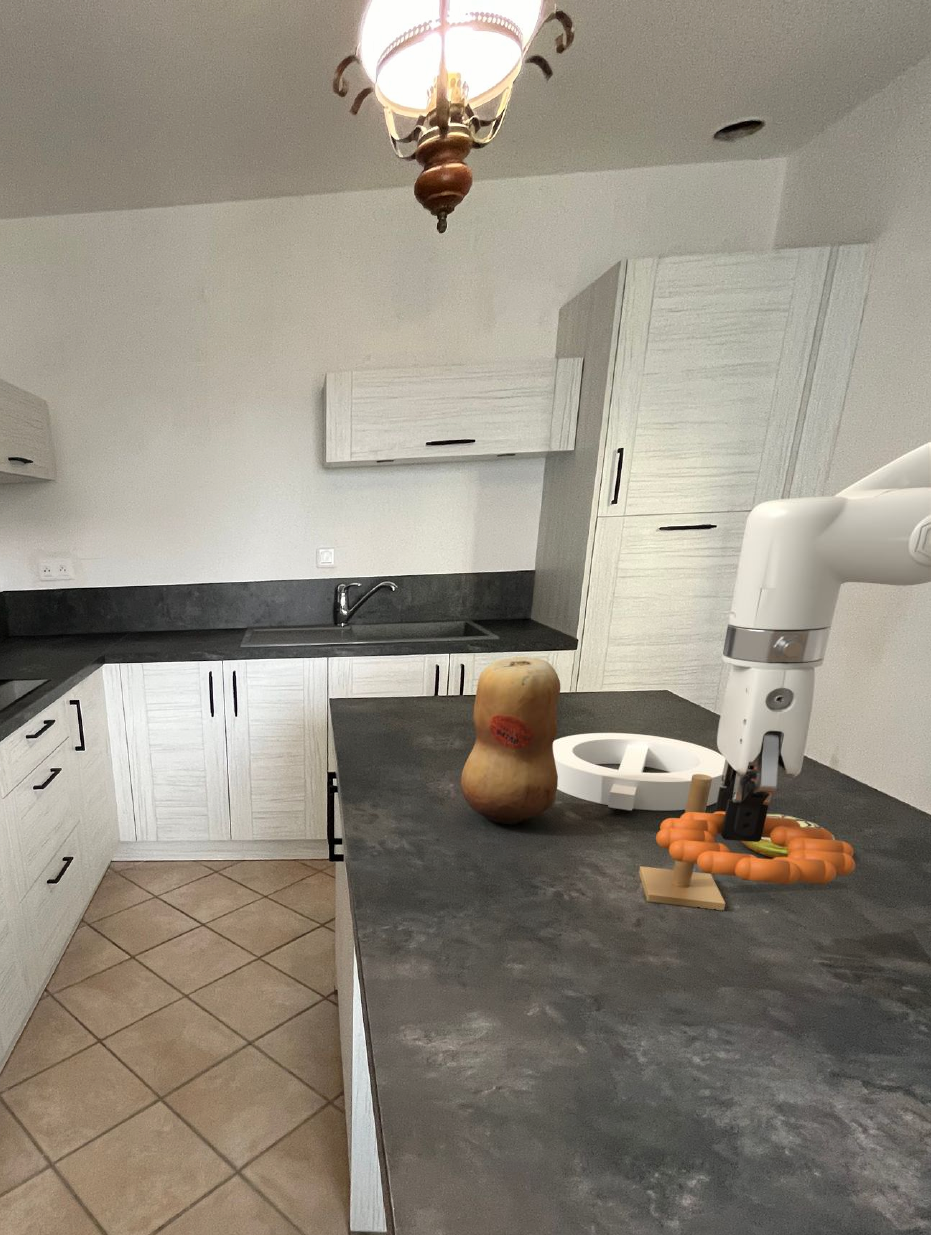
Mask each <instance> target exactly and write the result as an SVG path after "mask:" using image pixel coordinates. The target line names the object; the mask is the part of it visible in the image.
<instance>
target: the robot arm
mask: <svg viewBox="0 0 931 1235" xmlns="http://www.w3.org/2000/svg"><path fill="white" fill-rule="evenodd" d="M846 583H864V584H876V585H877V584H879V585H887V586H890V585H891V586H897V587H899V586H900V587H901V586H903V587H904V586H916V585H923V584H927V583H931V441H929V442H926V443H925V444H923V445H921V446H919V447H917V448H915V449H913V450H910V451H909V452H907V453H905V454H902V455H901V456H900V457H898V458H896V459H894V460H892V461H890V462H889V463H887V464H886V465H884V466H882V467H880V468H878V469H877V470H875V471H873V472H871V473H870V474H868V475H867V476H865V477H863V478H862V479H860V480H859V481H856V482H855V483H853V484H851V485H849V486H848V487H846V488H844V489H843V490H841V491H839V492H838V493H836V494H835V495H833V496H806V497H792V498H791V497H790V498H779V499H772V500H766V501H763V502H760V503H758V504H757V505H756V506H755V507H754V508H753V509H752V510H751V511H750V512H749V514H748V516H747V519H746V523H745V527H744V533H743V538H742V544H741V549H740V554H739V560H738V567H737V573H736V578H735V583H734V588H733V595H732V600H731V606H730V613H729V616H728V624H727V628H726V633H725V634H726V635H725V637H724V638H725V639H724V645H723V649H722V655H721V661H722V662H723V663H725V664H730V665H731V667H730V671H729V673H728V679H727V682H726V683H727V684H726V688H725V692H724V697H723V700H722V706H721V710H720V711H721V712H720V717H719V720H718V728H717V735H716V737H717V738H716V745H717V746H716V747H717V749H718V751H719V752H720V754H721V755H722V756H724V758H725V764H724V769H723V773H722V778H721V786H725V787H726V788H725V787H720V788H719V794H718V799H717V802H716V803H715V808H714V809H715V810H714V813H715V812H718V811H722V812H725V817H724V822H723V827H722V832H721V834H720V835H721V837H722V839H723V840H727V841H737V842H741V841H749V842H759V841H760V840H761V838H762V833H763V828H764V824H765V819H766V815H767V814H768V809H769V806H770V803H771V799H772V794H774V793H776V791H777V788H778V773H779V771H778V770H780V771H781V772H782V773H783V774H784V775H785V776H786V777H788V778H796V777H797V776H798V775H800V774H801V772H802V768H803V764H804V757H805V752H806V745H807V741H808V736H809V735H808V734H809V729H810V724H811V717H812V710H813V709H812V708H813V702H814V692H815V678H816V677H815V676H816V669H815V668H818V667H821V666H822V665H823V664H824V661H825V660H824V659H825V654H826V650H827V646H828V641H829V637H830V634H831V629H832V624H833V619H834V615H835V611H836V607H837V602H838V598H839V595H840V594H839V593H840V589H841V586H842V585H843V584H846Z"/></svg>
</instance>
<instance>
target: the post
mask: <svg viewBox="0 0 931 1235" xmlns="http://www.w3.org/2000/svg"><path fill="white" fill-rule="evenodd" d="M711 782H712V777H710V776H708V775H703V774H695V775H692V779H691V784H690V789H689V794H688V799H687V805H686V810H684V814H685V813H687V812H698V813H706V810H707V807H708V806H707V801H708V796H709V791H710V786H711ZM695 864H696V863H690V862H680V861H676V860H674V866H673V869H669V868H658V867H650V866H641V865H640V866H639V870H638V875H639V878H640V880H641V884H642V887H643V891H644V894H645V898H646V901H647V902H649V903H657V904H665V905H666V904H667V905H673V906H681V907H689V908H697V907H700V908H699V909H706V908H707V910H714V909H716V910H715V911H722V910H723V912H724V911H725V908H726V901H725V899H724V898H723V895H722V894H721V891H720V890H719V888H718V886H717V884H716V882H715V880H714V877H713V876H712V875H713V874H711V873H706V872H698V871H697V872H696V871H694V869H695Z"/></svg>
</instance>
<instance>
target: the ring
mask: <svg viewBox="0 0 931 1235" xmlns="http://www.w3.org/2000/svg"><path fill="white" fill-rule="evenodd" d="M724 817H725V812H722V811H718V812H715V811H714V812H713V813H712V812H705V813H698V812H687V813H685V812H684V813H683V814H681V815H680V817H678V818H677V817H669V818H666V819H664V820H662V822H661V823H660V827H659V829H660V830H659V831H658V832H657V833H656V836H655V840H656V843H657V845H658V846H659V847H661V848H662V849H666V850H668V853H669V856H670V857H671V859H673V860H674V861H680V862H690V863H695V864H697V867H698V869H699V870H701V871H702V873H707V874H711V875H723V876H735V877H737V878H738V879H740V880H743V881H750V882H763V883H772V884H780V885H781V884H782V885H790V884H794V883H796V882H799V883H800V882H801V883H811V884H827V883H830V882H832V881H833V880H834V879H835V878H836V876H846V875H847V876H848V875H850V874H851V873H852V872H854V870H855V868H856V861H855V859H854V858H853V856H854V852H855V851H854V848H853V847H852V845H851V844H850V843H849V842H846V841H844V840H837V839H835V840H833V836H834V835H833V833H831V832H830V831H829V830H827V829H825V828H824V829H822V828H823V827H822V828H810V827H801V826H800V824H799V823H798V822H797V821H795V820H793V819H788V818H773V817H766V819H765V824H764V828H763V833H762V837H765V838H770V839H771V841H772V842H773V843H774V844H775V845H777V846H780V847H787V851H788V853H789V855H788V857H776V858H760V857H759V858H758V857H757V856H756V855H754V854H750V853H740V852H739V853H738V852H731V850H730V849H729V848H728V846H727V845H725V844H723V843H721V842H716V839H715V837H716V836H717V835H721V832H722V827H723V822H724ZM832 835H833V836H832Z"/></svg>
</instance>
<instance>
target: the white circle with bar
mask: <svg viewBox="0 0 931 1235" xmlns="http://www.w3.org/2000/svg"><path fill="white" fill-rule="evenodd" d="M553 754H554V759H555V764H556V769H557V775H558V786H557V790H558V791H560V792H562V793H565V794H567V795H569V796H573V797H575V798H577V799H581V800H585V801H588V802H592V803H597V804H602V805H607V808H612V809H618V810H624V811H633V810H642V811H643V810H644V811H685V810H686V805H687V799H688V794H689V789H690V784H691V779H692V775H695V774H703V775H708V776H710V777H712V782H711V786H710V791H709V796H708V801H707V806H706V807H709V806H711V805H714V804H717V799H718V794H719V788H720V787H725V786H721V778H722V773H723V769H724V764H725V758H724V756H723V755H722V754H721V753H719V752H717V751H715V750H713V749H710V748H708V747H705V746H702V745H699V744H696V743H692V742H687V741H683V740H679V739H675V738H669V737H662V736H658V735H657V736H656V735H649V734H648V735H647V734H637V733H624V732H592V733H580V734H573V735H568V736H563V737H560V738H557V739H555V740H554V742H553ZM608 764H610V765H619V767H618V769H616V768H611V767H607V766H601V765H608ZM645 767H646V768H650V769H656V770H661V771H665V772H644V769H645ZM725 788H727V787H725Z"/></svg>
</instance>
